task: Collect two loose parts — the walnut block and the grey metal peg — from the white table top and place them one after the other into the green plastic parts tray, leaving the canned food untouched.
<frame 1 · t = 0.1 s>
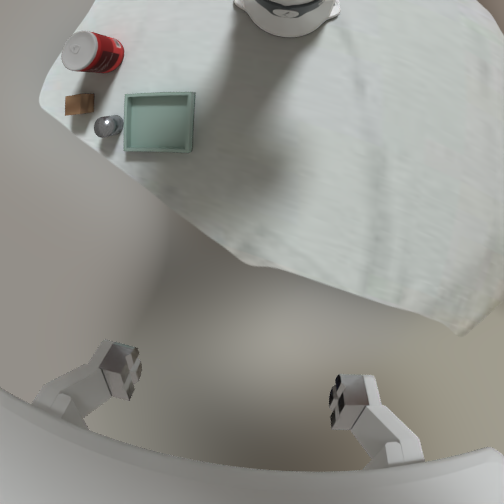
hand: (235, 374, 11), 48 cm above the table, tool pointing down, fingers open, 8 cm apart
canned food: (109, 55, 46), on the table
walnut block: (86, 103, 51), on the table
metal peg: (115, 124, 53), on the table
parts tray: (160, 121, 52), on the table
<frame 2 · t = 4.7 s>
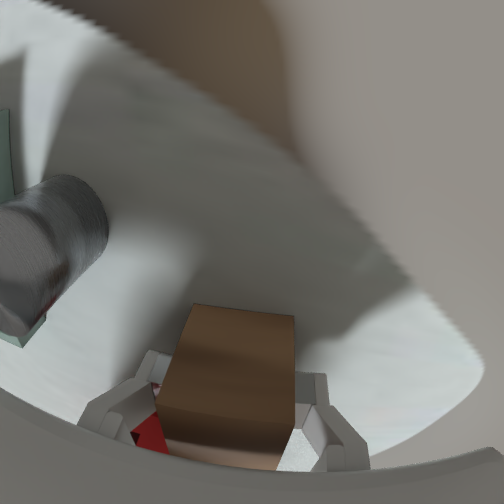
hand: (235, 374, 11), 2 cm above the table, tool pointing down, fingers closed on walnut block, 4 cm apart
canned food: (160, 429, 18), on the table
walnut block: (240, 346, 13), on the table, touching gripper
metal peg: (69, 221, 11), on the table
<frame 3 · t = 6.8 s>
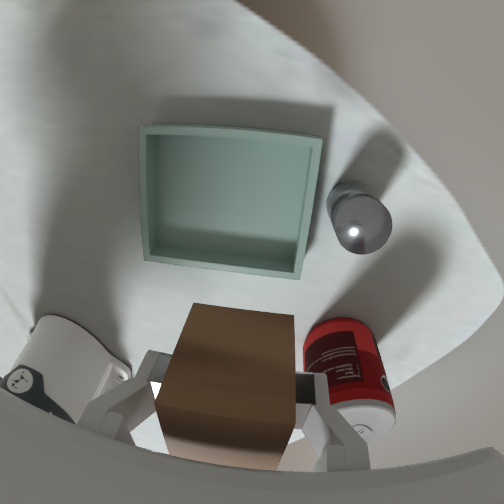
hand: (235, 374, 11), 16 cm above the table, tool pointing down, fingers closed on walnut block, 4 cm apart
canned food: (338, 341, 31), on the table
walnut block: (240, 345, 13), point 14 cm above the table, touching gripper
metal peg: (350, 204, 24), on the table
parts tray: (227, 195, 25), on the table
when the fingers open (4 cm above the table, at t = 9.0 s): walnut block drops 2 cm, resting on parts tray.
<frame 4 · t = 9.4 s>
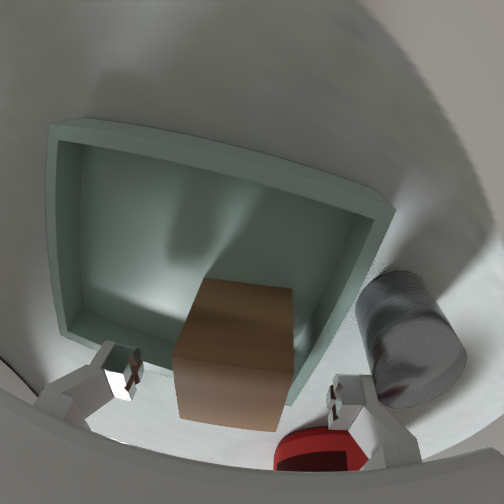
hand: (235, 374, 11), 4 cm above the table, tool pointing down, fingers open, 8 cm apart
canned food: (321, 444, 21), on the table
walnut block: (244, 317, 15), resting on parts tray
metal peg: (392, 305, 14), on the table, touching gripper
parts tray: (194, 262, 14), on the table
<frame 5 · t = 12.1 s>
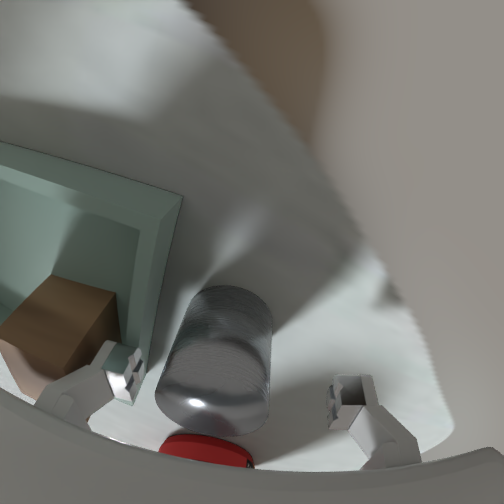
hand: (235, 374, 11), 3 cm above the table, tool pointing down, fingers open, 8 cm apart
canned food: (208, 452, 21), on the table
walnut block: (86, 314, 14), resting on parts tray, touching gripper
metal peg: (228, 321, 14), on the table
parts tray: (46, 260, 13), on the table
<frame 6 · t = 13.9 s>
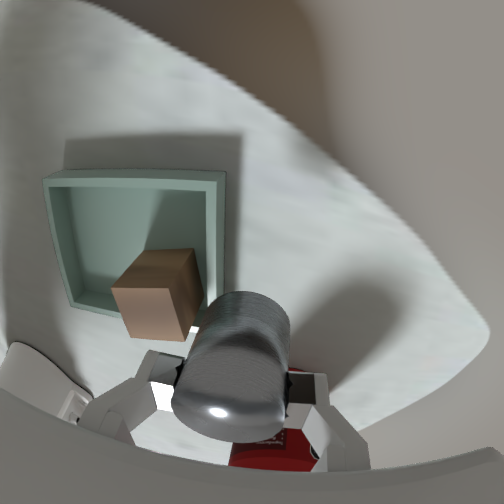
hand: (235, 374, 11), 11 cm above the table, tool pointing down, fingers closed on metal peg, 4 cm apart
canned food: (284, 389, 28), on the table
walnut block: (173, 273, 22), resting on parts tray
metal peg: (246, 326, 14), point 8 cm above the table, touching gripper
parts tray: (138, 242, 22), on the table
when the fingers open (4 cm above the table, at t = 17.1 s): metal peg stays where it is, resting on parts tray.
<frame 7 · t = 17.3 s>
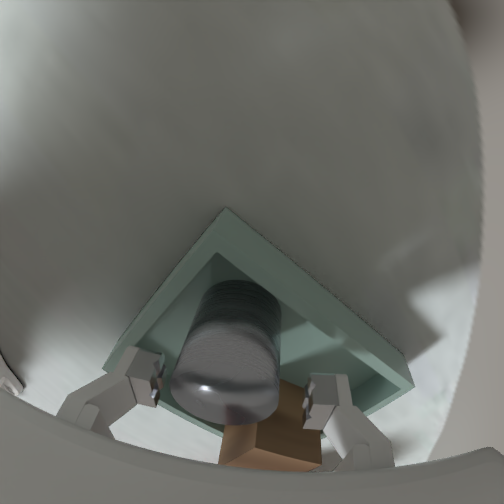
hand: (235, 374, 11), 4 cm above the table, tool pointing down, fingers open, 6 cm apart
walnut block: (272, 399, 17), resting on parts tray
metal peg: (239, 314, 15), point 1 cm above the table, touching parts tray
parts tray: (258, 356, 16), on the table
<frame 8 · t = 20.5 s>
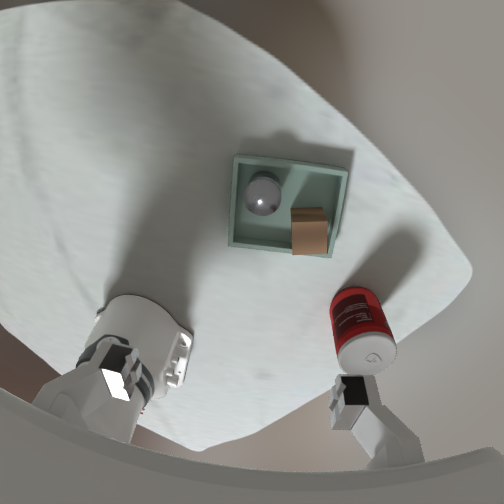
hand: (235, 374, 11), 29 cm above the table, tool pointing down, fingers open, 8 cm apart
canned food: (353, 305, 44), on the table
walnut block: (306, 222, 39), resting on parts tray
metal peg: (264, 186, 37), point 1 cm above the table, touching parts tray
parts tray: (285, 203, 38), on the table
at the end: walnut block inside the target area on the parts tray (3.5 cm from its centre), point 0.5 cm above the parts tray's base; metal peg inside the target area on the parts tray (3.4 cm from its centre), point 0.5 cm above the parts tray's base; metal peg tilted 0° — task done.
